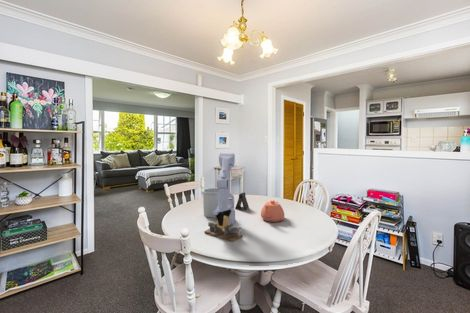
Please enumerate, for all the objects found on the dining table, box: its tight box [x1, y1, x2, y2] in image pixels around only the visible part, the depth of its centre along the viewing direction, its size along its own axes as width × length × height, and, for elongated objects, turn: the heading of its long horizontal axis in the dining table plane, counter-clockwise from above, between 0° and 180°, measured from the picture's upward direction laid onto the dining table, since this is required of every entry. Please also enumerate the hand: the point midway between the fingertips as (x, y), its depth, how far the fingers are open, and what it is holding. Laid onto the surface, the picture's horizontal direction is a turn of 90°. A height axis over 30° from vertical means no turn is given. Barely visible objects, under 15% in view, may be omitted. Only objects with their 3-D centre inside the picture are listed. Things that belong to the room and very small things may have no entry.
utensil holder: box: [202, 187, 218, 218], centre depth 162 cm, size 15×15×18 cm
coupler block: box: [216, 215, 228, 229], centre depth 128 cm, size 5×4×6 cm
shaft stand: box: [203, 220, 244, 243], centre depth 128 cm, size 20×9×6 cm, turn 55°
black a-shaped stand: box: [234, 192, 250, 211], centre depth 176 cm, size 9×6×12 cm, turn 64°
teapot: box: [260, 199, 285, 223], centre depth 153 cm, size 22×16×12 cm
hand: (223, 224), depth 128 cm, fingers closed on coupler block, 4 cm apart
